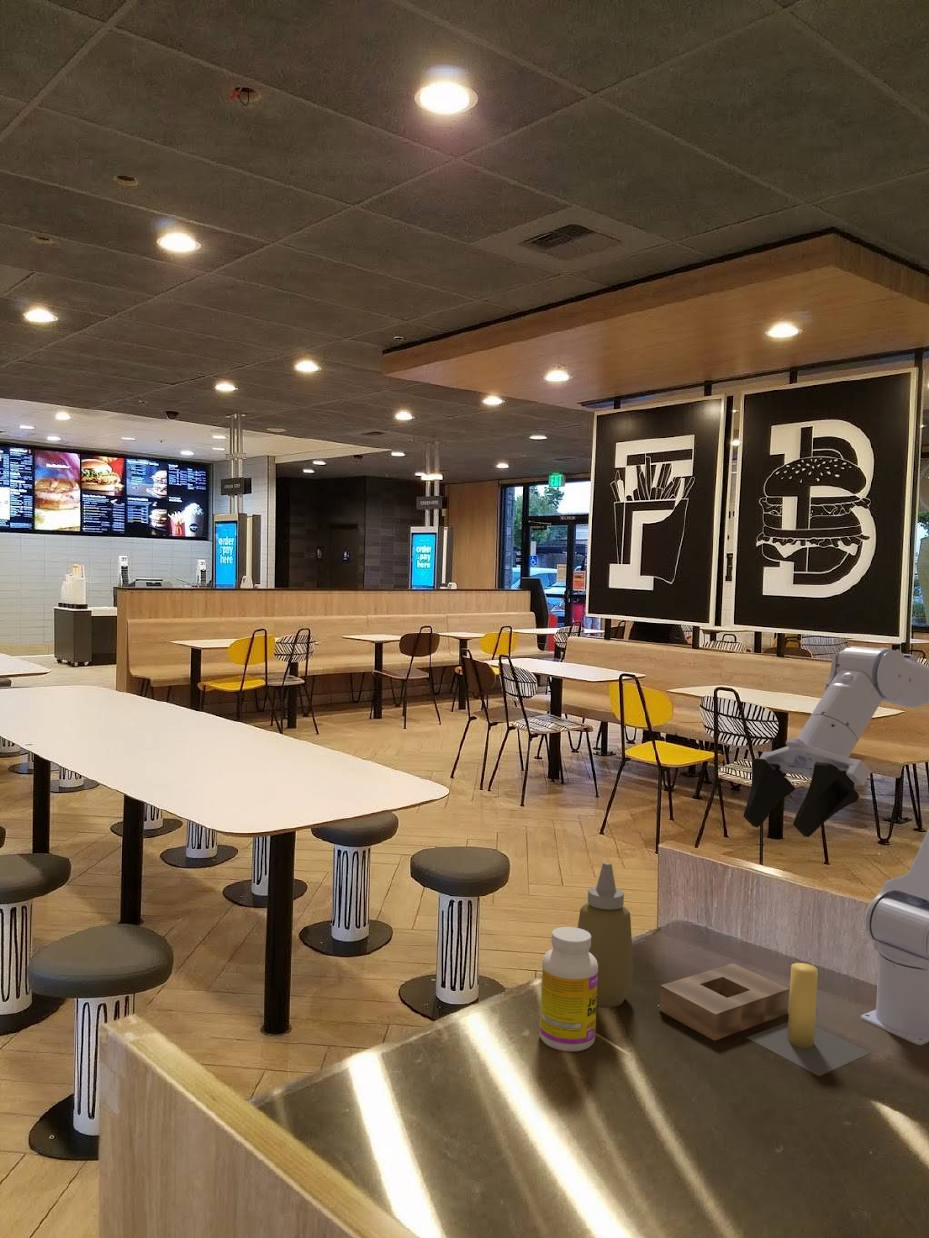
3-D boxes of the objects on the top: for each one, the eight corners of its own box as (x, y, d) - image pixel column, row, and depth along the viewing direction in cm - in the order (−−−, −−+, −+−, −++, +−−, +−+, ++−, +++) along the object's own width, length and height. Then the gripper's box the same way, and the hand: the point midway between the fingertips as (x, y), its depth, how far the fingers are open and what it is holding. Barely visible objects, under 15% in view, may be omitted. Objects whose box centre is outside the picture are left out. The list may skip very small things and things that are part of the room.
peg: (797, 1033, 113) (801, 961, 112) (819, 1043, 110) (823, 970, 110) (782, 1039, 111) (785, 966, 111) (803, 1050, 108) (807, 975, 108)
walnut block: (731, 988, 125) (733, 963, 125) (787, 1015, 118) (789, 988, 118) (659, 1012, 118) (660, 985, 117) (714, 1042, 110) (715, 1014, 110)
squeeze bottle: (641, 996, 122) (647, 862, 121) (617, 1019, 115) (624, 878, 114) (586, 980, 126) (591, 851, 125) (560, 1001, 119) (565, 865, 119)
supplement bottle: (593, 1057, 106) (597, 947, 105) (536, 1049, 107) (540, 941, 106) (596, 1030, 112) (601, 926, 112) (542, 1023, 113) (546, 920, 113)
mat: (797, 1020, 117) (798, 1017, 117) (870, 1055, 108) (870, 1052, 108) (746, 1039, 111) (746, 1037, 111) (818, 1078, 103) (818, 1075, 103)
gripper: (766, 706, 111) (708, 796, 106) (863, 709, 97) (802, 811, 93) (800, 744, 112) (745, 834, 108) (901, 751, 99) (843, 854, 95)
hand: (774, 826), depth 100 cm, fingers open, 7 cm apart
